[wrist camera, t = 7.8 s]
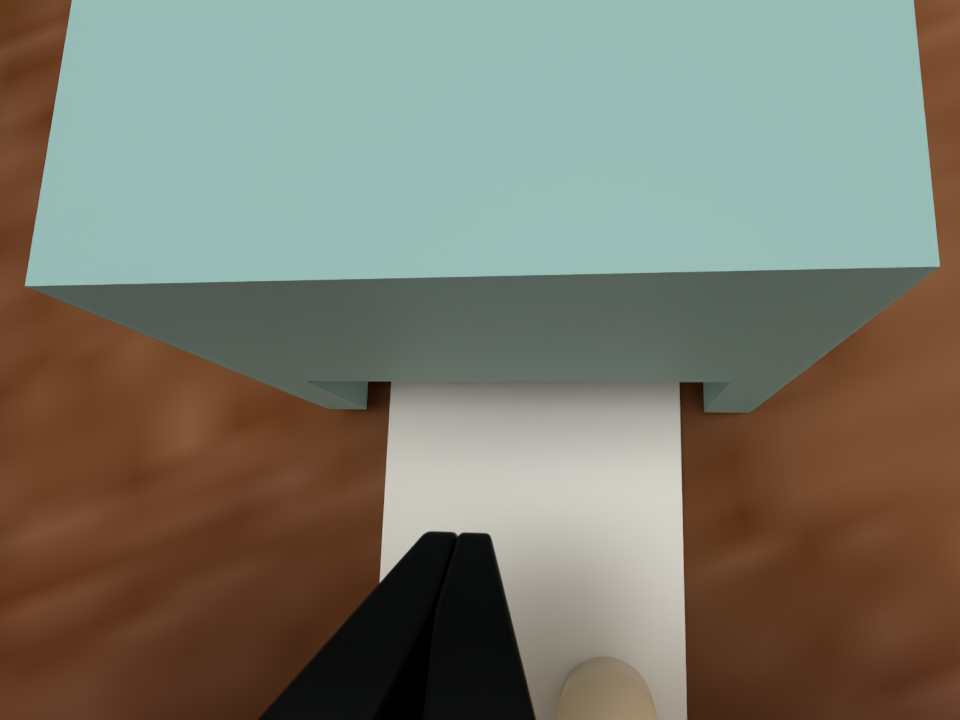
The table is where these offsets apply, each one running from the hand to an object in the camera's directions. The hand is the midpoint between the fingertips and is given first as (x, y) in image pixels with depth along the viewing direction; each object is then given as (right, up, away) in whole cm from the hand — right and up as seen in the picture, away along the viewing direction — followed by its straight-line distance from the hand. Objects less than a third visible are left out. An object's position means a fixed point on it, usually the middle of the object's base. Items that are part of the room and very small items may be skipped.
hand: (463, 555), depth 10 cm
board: (+1, -4, +8) cm, 9 cm away
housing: (+2, +6, +9) cm, 11 cm away
